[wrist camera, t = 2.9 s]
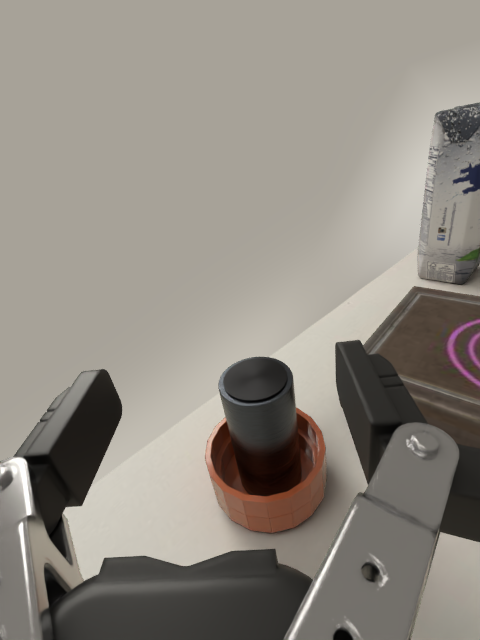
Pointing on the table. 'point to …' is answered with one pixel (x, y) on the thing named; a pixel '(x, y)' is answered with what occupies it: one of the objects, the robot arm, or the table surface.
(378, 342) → the book
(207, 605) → the robot arm
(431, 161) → the juice carton
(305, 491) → the terracotta bowl
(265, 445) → the black metal canister
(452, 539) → the table surface
